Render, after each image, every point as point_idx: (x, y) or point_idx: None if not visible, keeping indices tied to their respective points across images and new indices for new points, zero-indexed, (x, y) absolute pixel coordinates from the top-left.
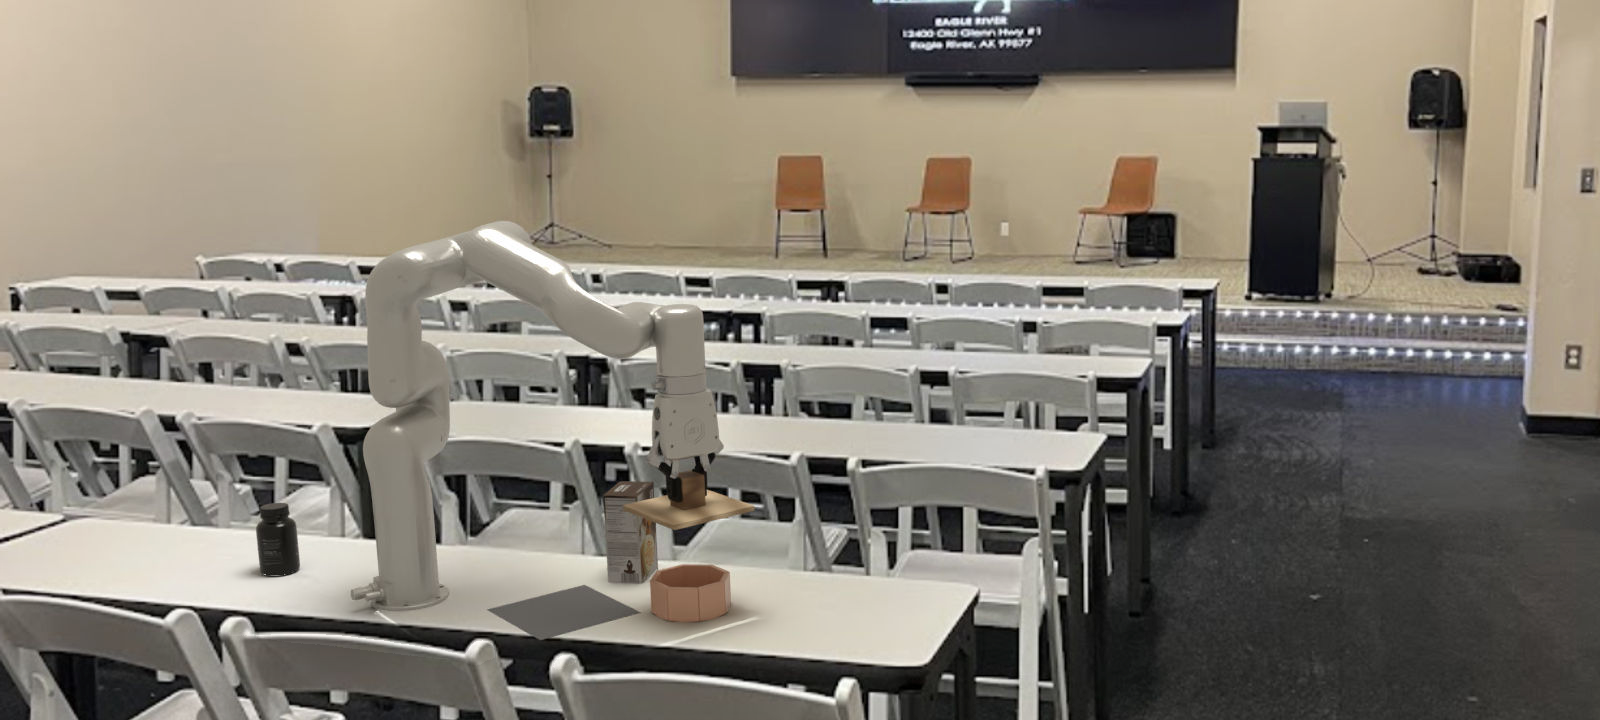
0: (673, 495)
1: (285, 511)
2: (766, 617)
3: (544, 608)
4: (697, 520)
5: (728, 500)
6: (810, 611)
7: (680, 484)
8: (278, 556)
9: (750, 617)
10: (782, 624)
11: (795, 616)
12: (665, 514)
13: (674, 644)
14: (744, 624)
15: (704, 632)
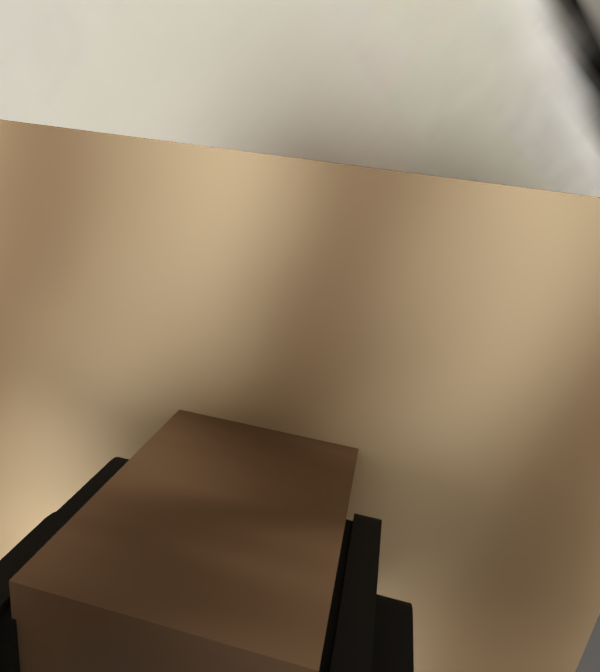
0: (395, 599)
1: None
2: (235, 111)
3: (595, 626)
4: (480, 184)
5: (7, 366)
6: (116, 45)
7: (340, 640)
8: None
9: (266, 150)
10: (241, 20)
11: (172, 46)
12: (524, 494)
13: (584, 151)
14: (317, 116)
15: (444, 160)
